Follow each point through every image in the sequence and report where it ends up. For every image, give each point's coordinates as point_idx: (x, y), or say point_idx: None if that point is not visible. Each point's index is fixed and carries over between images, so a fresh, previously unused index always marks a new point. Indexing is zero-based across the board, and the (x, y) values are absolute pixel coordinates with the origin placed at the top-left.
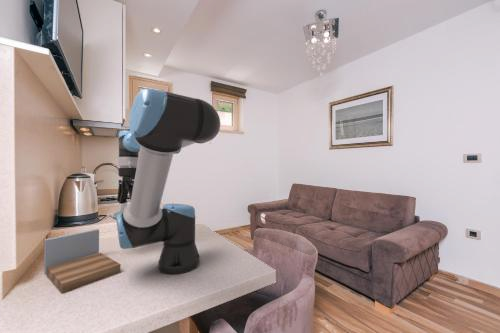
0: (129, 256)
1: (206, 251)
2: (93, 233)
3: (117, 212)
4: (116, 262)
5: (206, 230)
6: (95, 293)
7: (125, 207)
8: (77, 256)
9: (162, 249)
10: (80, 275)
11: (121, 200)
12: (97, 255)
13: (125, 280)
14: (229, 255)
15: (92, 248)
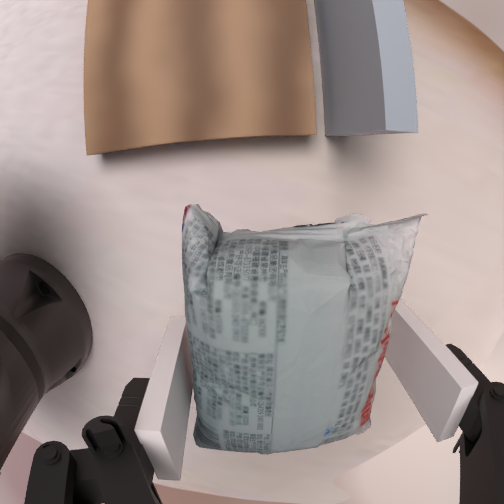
0: None
1: (87, 415)
2: (375, 95)
3: (306, 276)
4: (115, 147)
5: (274, 498)
6: (32, 71)
7: (423, 398)
8: (330, 47)
9: (7, 300)
10: (102, 25)
11: (484, 425)
12: (283, 111)
13: (37, 152)
14: (33, 416)
15: (342, 103)
